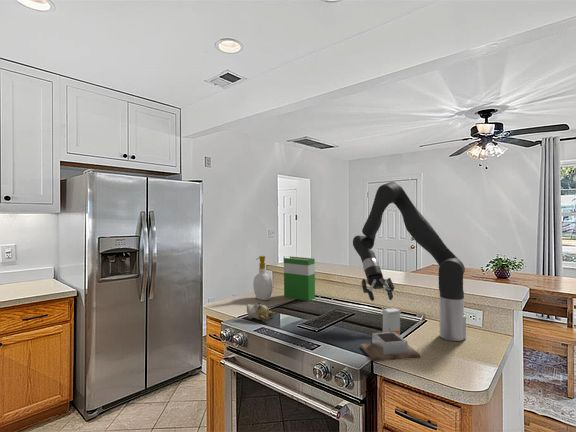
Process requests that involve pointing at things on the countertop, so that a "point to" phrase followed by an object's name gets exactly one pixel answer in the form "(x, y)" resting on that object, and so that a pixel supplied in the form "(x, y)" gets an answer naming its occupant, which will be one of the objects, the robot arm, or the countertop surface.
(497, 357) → the countertop surface
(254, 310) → the ceramic sculpture
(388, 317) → the skincare box
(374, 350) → the walnut board
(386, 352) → the steel slot collar
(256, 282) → the soap bottle
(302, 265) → the green cereal box
